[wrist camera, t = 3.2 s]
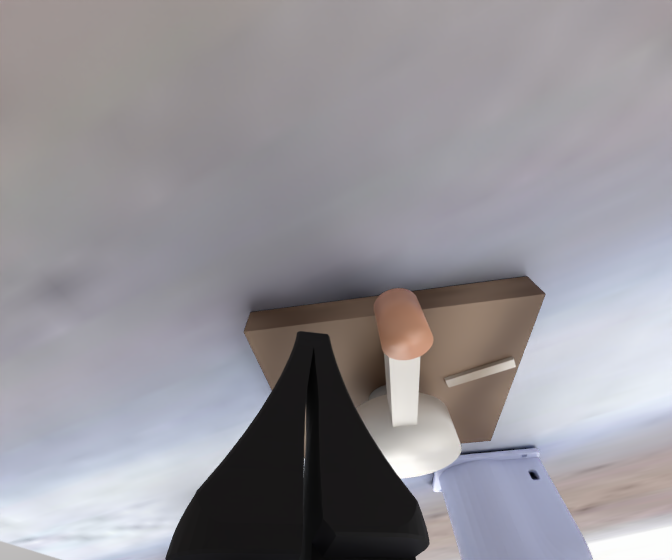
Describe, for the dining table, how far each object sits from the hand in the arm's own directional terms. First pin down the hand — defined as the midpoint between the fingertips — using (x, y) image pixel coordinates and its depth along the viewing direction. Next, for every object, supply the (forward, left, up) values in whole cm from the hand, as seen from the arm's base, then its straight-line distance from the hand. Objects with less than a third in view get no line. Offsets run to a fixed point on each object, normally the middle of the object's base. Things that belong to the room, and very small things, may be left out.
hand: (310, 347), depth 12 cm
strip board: (-4, +8, -3) cm, 9 cm away
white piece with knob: (-4, +4, 0) cm, 6 cm away
